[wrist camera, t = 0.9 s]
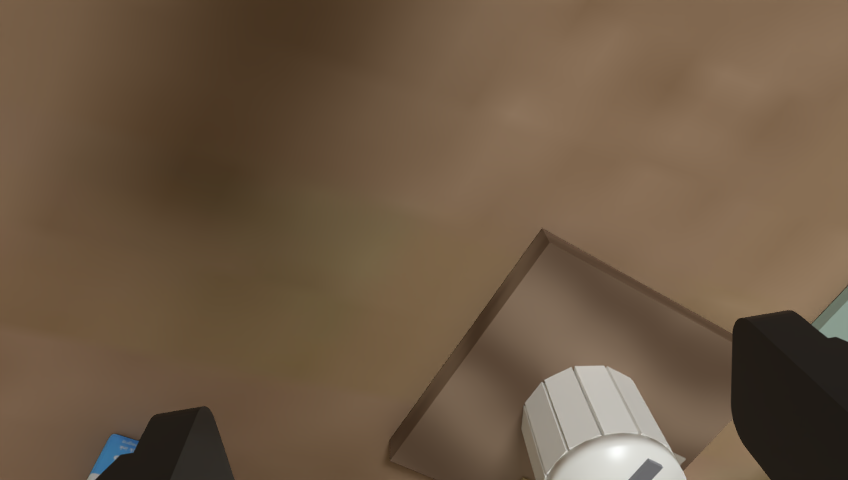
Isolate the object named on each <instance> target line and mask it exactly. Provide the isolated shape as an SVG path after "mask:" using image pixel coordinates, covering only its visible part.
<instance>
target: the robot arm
mask: <svg viewBox="0 0 848 480" xmlns="http://www.w3.org/2000/svg"><path fill="white" fill-rule="evenodd" d="M731 412H732V417H733V421H734V424H735V427H736V430H737V433H738V435H739V437H740V439H741V441H742V443H743V444H744V446H745V447H746V448H747V450H748V451H749V452H750V454H751V455H752V456H753V457H754V459H755V460H756V461H757V463H758V464H759V465H760V466H761V468H762V469H763V470H764V471H765V473H766V474H767V475H768V477H769V478H770V479H771V480H848V342H847V341H845V340H843V339H840V338H838V337H832V338H827V337H826V336H825V335H824V334H822V333H821V332H820V331H819V330H817V329H816V328H815V327H814V326H812V325H811V324H810V323H809V322H807V321H806V320H805V319H804V318H802V317H801V316H800V315H799V314H797V313H796V312H794V311H790V310H787V311H781V312H775V313H769V314H763V315H757V316H751V317H745V318H740V319H738V320H737V321H736V322H735V324H734V327H733V335H732V373H731ZM95 480H234V477H233V474H232V471H231V468H230V465H229V462H228V459H227V456H226V453H225V450H224V446H223V443H222V440H221V437H220V434H219V431H218V428H217V425H216V422H215V419H214V416H213V414H212V412H211V411H210V409H209V408H207V407H205V406H204V407H197V408H191V409H185V410H179V411H173V412H167V413H161V414H156V415H154V416H153V417H152V418H151V419H150V421H149V423H148V425H147V427H146V429H145V431H144V433H143V435H142V437H141V439H140V441H139V443H138V444H137V446H136V448H135V450H134V452H133V453H128V454H122V455H120V456H119V457H118V458H117V459H116V460H115V461H114V462H113V463H112V464H111V465H110V466H108V467H107V468H106V469H105V470H104V471H103V472H102V473H101V474H100V475H99V476H98V477H97V478H96V479H95Z"/></svg>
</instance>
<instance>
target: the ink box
mask: <svg viewBox="0 0 848 480" xmlns="http://www.w3.org/2000/svg"><path fill="white" fill-rule="evenodd" d="M138 443H139V441H137V440H134V439H130V438H127V437H124V436H121V435H117V434H112V435H111V436H110V437H109V439H108V441H107V443H106V445H105V446H104V448H103V450H102V452H101V454H100V456H99V458H98V460H97V461H96V463H95V465H94V467H93V469H92V471H91V473H90V475H89V477H88V479H87V480H95V479H96V478H97V477H98V476H99V475H100V474H101V473H102V472H103V471H104V470H105V469H106V468H107V467H108V466H110V465H111V464H112V463H113V462H114V461H115V460H116V459H117V458H118V457H119V456H120V455H122V454H128V453H133V452H134V450H135V448H136V446H137V444H138Z"/></svg>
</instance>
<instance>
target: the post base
mask: <svg viewBox="0 0 848 480" xmlns="http://www.w3.org/2000/svg"><path fill="white" fill-rule="evenodd" d="M732 335H733V334H731V333H730V332H728V331H726V330H724V329H722V328H721V327H719V326H717V325H715V324H713V323H712V322H710V321H708V320H706V319H704V318H703V317H701V316H699V315H697V314H695V313H694V312H692V311H690V310H688V309H686V308H685V307H683V306H681V305H679V304H677V303H676V302H674V301H672V300H670V299H668V298H667V297H665V296H663V295H661V294H659V293H658V292H656V291H654V290H652V289H650V288H649V287H647V286H645V285H643V284H641V283H640V282H638V281H636V280H634V279H632V278H631V277H629V276H627V275H625V274H623V273H622V272H620V271H618V270H616V269H614V268H613V267H611V266H609V265H607V264H605V263H604V262H602V261H600V260H598V259H597V258H595V257H593V256H591V255H589V254H588V253H586V252H584V251H582V250H580V249H579V248H577V247H575V246H573V245H571V244H570V243H568V242H566V241H564V240H562V239H561V238H559V237H557V236H555V235H553V234H552V233H550V232H548V231H546V230H544V229H543V228H542V229H541V231H540V232H539V234H538V235H537V236H536V238H535V239H534V241H533V242H532V243H531V245H530V246H529V247H528V249H527V250H526V252H525V253H524V254H523V256H522V257H521V259H520V260H519V261H518V263H517V264H516V266H515V267H514V268H513V270H512V271H511V272H510V274H509V275H508V277H507V278H506V279H505V281H504V282H503V284H502V285H501V286H500V288H499V289H498V291H497V292H496V293H495V295H494V296H493V297H492V299H491V300H490V302H489V303H488V304H487V306H486V307H485V309H484V310H483V311H482V313H481V314H480V316H479V317H478V318H477V320H476V321H475V322H474V324H473V325H472V327H471V328H470V329H469V331H468V332H467V334H466V335H465V336H464V338H463V339H462V341H461V342H460V343H459V345H458V346H457V347H456V349H455V350H454V352H453V353H452V354H451V356H450V357H449V359H448V360H447V361H446V363H445V364H444V366H443V367H442V368H441V370H440V371H439V372H438V374H437V375H436V377H435V378H434V379H433V381H432V382H431V384H430V385H429V386H428V388H427V389H426V391H425V392H424V393H423V395H422V396H421V397H420V399H419V400H418V402H417V403H416V404H415V406H414V407H413V409H412V410H411V411H410V413H409V414H408V416H407V417H406V418H405V420H404V421H403V422H402V424H401V425H400V427H399V428H398V429H397V431H396V432H395V434H394V435H393V436H392V438H391V439H390V461H392V462H394V463H397V464H399V465H401V466H404V467H406V468H409V469H411V470H413V471H416V472H418V473H421V474H423V475H426V476H428V477H430V478H433V479H435V480H536V479H535V476H534V472H533V469H532V465H531V462H530V458H529V455H528V451H527V447H526V444H525V440H524V437H523V433H522V429H521V427H522V417H523V407H524V406H526V405H525V402H526V401H527V400H528V398H529V397H530V396H531V395H532V393H533V392H534V391H535V390H536V388H537V387H538V386H539V384H540V383H541V382H543V383H545V381H544V380H545V379H547V378H549V377H551V376H553V375H555V374H558V373H560V372H562V371H564V370H566V369H568V368H570V367H572V369H573V371H574V367H575V366H605V368H606V367H607V366H608V367H610V368H612V369H614V370H616V371H618V372H620V373H622V374H624V375H626V376H628V377H630V378H631V380H633V382H634V383H635V385H636V387H637V389H638V391H639V392H640V394H641V396H642V398H643V400H644V401H645V403H646V405H647V407H648V409H649V410H650V412H651V414H652V416H653V418H654V419H655V421H656V423H657V425H658V427H659V428H660V430H661V432H662V434H663V435H664V437H665V439H666V441H667V443H668V444H669V446H670V448H671V450H672V452H673V454H674V456H675V458H676V460H677V461H678V463H679V465H680V467H681V469H682V470H684V469H685V468H686V467H687V466H688V465H689V464H690V463H691V462H692V461H693V460H694V459H695V458H696V457H697V456H698V455H699V454H700V453H701V452H702V451H703V449H704V448H705V447H706V446H707V445H708V444H709V443H710V442H711V441H712V440H713V439H714V438H715V437H716V436H717V435H718V434H719V433H720V432H721V431H722V430H723V429H724V427H725V426H726V425H727V424H728V423H729V422H730V421H731V420H732V419H733V417H732V412H731V373H732Z"/></svg>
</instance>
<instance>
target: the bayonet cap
mask: <svg viewBox="0 0 848 480" xmlns="http://www.w3.org/2000/svg"><path fill="white" fill-rule="evenodd" d="M544 381H545V383H543V382H541V383H540V384H539V386H538V387H537V388H536V390H535V391H534V392H533V393H532V395H531V396H530V397H529V398H528V400H527V401H526V402H525V405H526V406H524V407H523V417H522V427H521V429H522V433H523V437H524V440H525V444H526V447H527V451H528V455H529V458H530V462H531V465H532V469H533V472H534V476H535V479H536V480H686V477H685V475H684V472H683V470H682V469H681V467H680V465H679V463H678V461H677V460H676V458H675V456H674V454H673V452H672V450H671V448H670V446H669V444H668V443H667V441H666V439H665V437H664V435H663V434H662V432H661V430H660V428H659V427H658V425H657V423H656V421H655V419H654V418H653V416H652V414H651V412H650V410H649V409H648V407H647V405H646V403H645V401H644V400H643V398H642V396H641V394H640V392H639V391H638V389H637V387H636V385H635V383H634V382H633V380H631V378H630V377H628V376H626V375H624V374H622V373H620V372H618V371H616V370H614V369H612V368H610V367H608V366H607V367H606V368H605V366H575V367H574V371H573V369H572V367H570V368H568V369H566V370H564V371H562V372H560V373H558V374H555V375H553V376H551V377H549V378H547V379H545V380H544Z"/></svg>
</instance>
